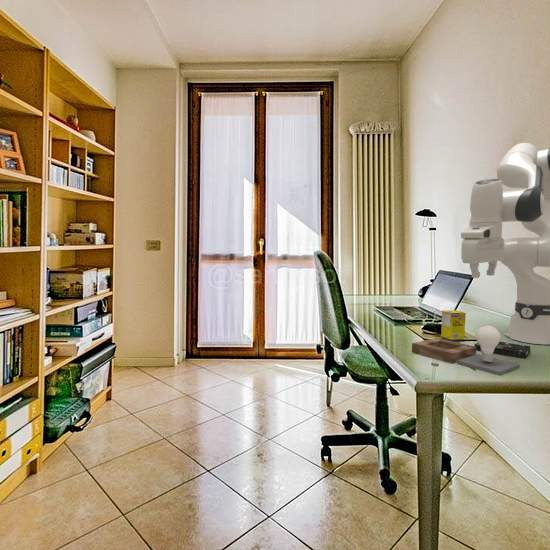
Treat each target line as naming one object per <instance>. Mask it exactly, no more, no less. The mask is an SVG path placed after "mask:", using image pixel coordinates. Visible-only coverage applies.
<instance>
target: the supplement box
mask: <svg viewBox="0 0 550 550" xmlns="http://www.w3.org/2000/svg"><path fill="white" fill-rule="evenodd" d="M466 314H467V313H466V312H464V311H459V310H456V309H452V310H450V309H447V310H444V309H443V310H441V327H440V328H441V330H440V331H441V335H440V338H441V337H443V338H444V340H449V341H453V342H465V337H466ZM443 338H442V339H443Z"/></svg>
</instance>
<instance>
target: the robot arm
mask: <svg viewBox="0 0 550 550" xmlns="http://www.w3.org/2000/svg"><path fill="white" fill-rule="evenodd" d="M496 177H497V178H490V179H483V180H479V181H478V180H477V181H476V182H474V183H473V185H472V189H471V195H470V204H469V210H470V215H471V216H470V219H469V226H467V228H465V229H464V230H462V231H461V232H460V238H461V239H462V241H461V250H460V252H461V253H460V254H461V255H460V257H461V260H462V263H463V264H469V269H470V271H471V278H474V279H478V278H480V276H481V272H480V271H479V270H480V269H479V267H480V264H481V263H484V264H485V263H488V268H487V269H486V275H487V276H495V274H496V273H495V272H496V268H497V265H498V261H499V262H500V263H501V264H503V265H504V266H505V267H507V268H508V269H509V271H511V273H512V274H513V276H514V278H515V283H516V301H515V305H514V311H515V313H513V314H512V315H511V316H510V319H509V325H508V326H509V328H508V331H507V332H505V333H504V336H507V337H509V339H511V340H514V341H518V342H521V343H522V342H523V343H528V344H535V345H546V346H547V345H550V279H548V278H546V277H545V276H542V275H540V274H538V273H536V272H535V271H534V268H537V267H539V268H541V267H543V268H550V148H547V149H542V150H538V149H537V147H536V146H535V145H534V144H532V143H530V142H520V143H517V144H515V145H514V146H512V147H511V148H510V149H509V150H508V151H507V152H506V153H505V154H504V156H503V157H502V158H501V160H500V161H499V164H498V166H497V169H496ZM503 186H505V187H508V188H510V189H518V190H507V191H506V190H505V191H504V187H503ZM508 222H512V223H514V222H520V223H521V224H522V227H523V228H524V229H526V230H527V231H529V232H531V233H534V234H536V235H538V237H534V236H533V237H513V238H508V239H504V238H503V236H502V234H503V223H508Z"/></svg>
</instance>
